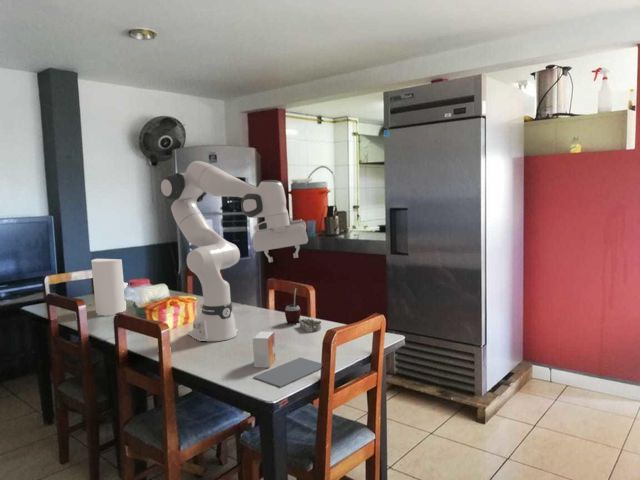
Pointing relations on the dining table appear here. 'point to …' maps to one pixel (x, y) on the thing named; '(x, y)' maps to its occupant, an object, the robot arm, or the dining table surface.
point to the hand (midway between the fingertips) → (283, 259)
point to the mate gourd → (293, 313)
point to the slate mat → (289, 372)
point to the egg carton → (307, 325)
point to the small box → (264, 349)
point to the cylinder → (108, 286)
